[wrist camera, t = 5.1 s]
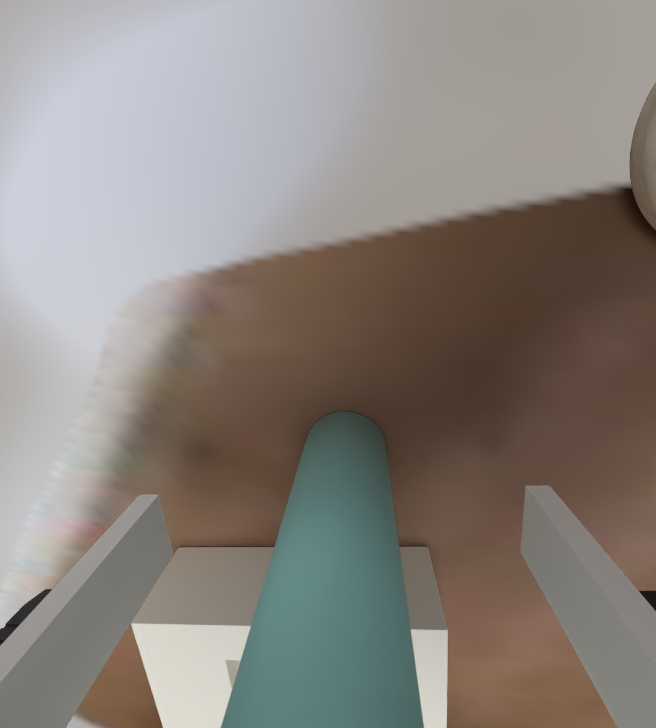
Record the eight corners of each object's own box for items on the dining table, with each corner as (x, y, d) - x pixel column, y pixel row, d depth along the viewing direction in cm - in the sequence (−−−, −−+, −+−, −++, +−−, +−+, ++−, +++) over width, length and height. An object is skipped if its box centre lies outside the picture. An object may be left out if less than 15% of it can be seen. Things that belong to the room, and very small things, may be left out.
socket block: (178, 547, 21) (130, 623, 16) (428, 546, 19) (447, 630, 15) (224, 734, 25) (196, 834, 21) (429, 746, 24) (445, 855, 19)
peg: (301, 413, 18) (117, 904, 4) (384, 409, 17) (468, 941, 4) (309, 483, 19) (183, 1050, 5) (387, 482, 18) (461, 1092, 5)
